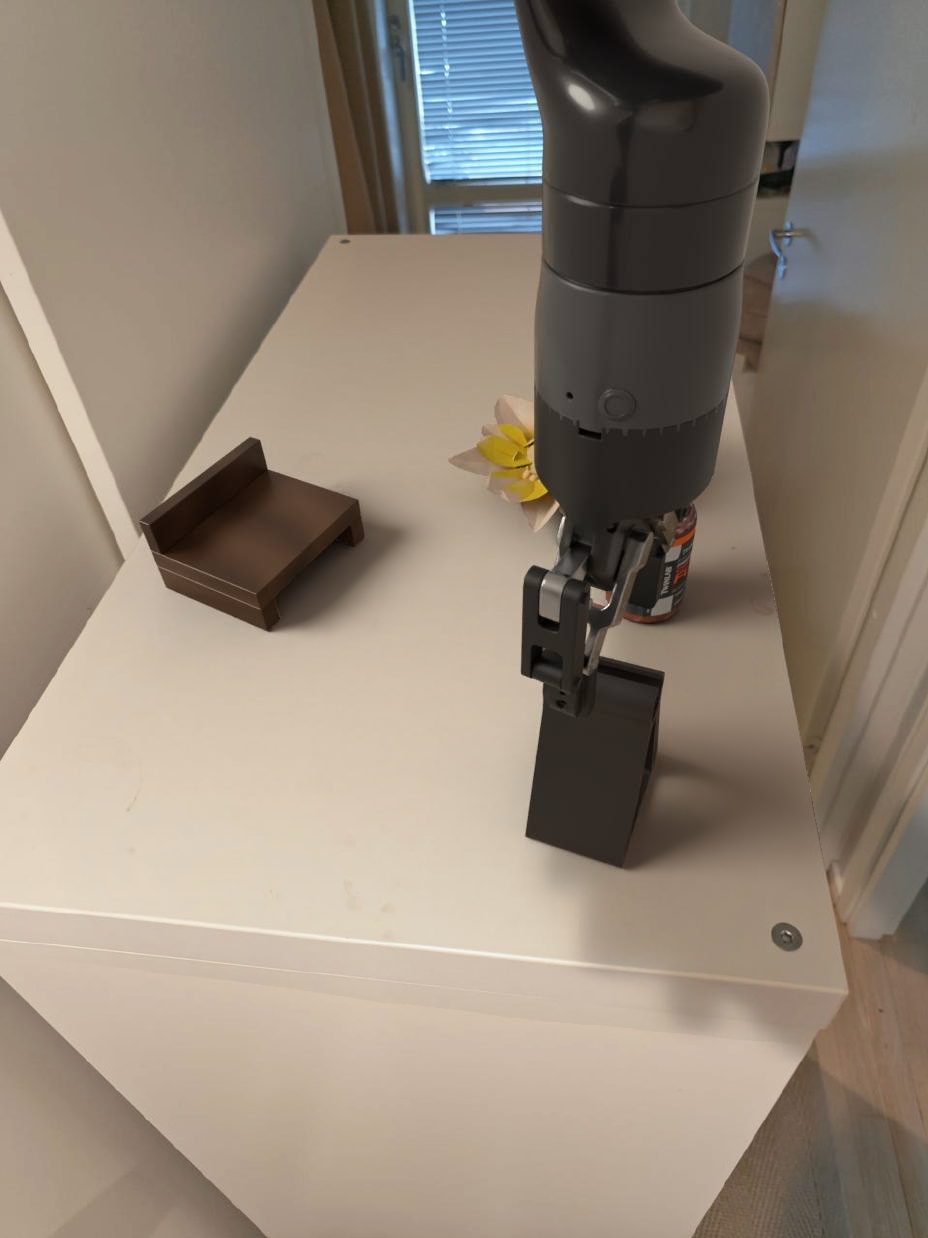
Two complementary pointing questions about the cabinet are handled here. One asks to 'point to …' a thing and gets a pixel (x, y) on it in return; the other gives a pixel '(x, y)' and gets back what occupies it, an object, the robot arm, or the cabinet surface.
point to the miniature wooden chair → (245, 533)
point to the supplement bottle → (669, 575)
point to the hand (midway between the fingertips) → (605, 652)
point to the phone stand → (597, 765)
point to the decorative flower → (511, 460)
